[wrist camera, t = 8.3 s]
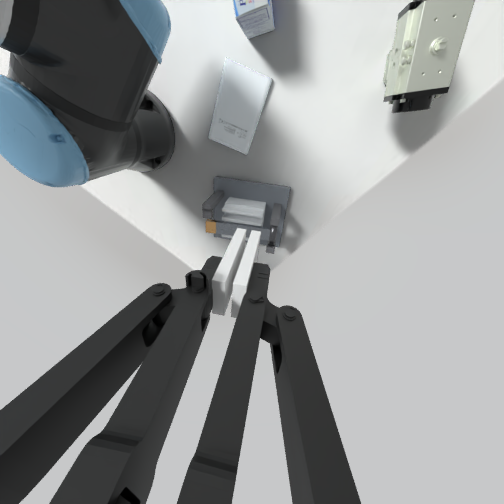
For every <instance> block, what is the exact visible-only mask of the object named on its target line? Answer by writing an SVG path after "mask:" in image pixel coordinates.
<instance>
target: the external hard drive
mask: <svg viewBox="0 0 504 504" xmlns="http://www.w3.org/2000/svg"><path fill="white" fill-rule="evenodd" d="M271 82H272V78H270V77H268V76H266V75H263V74H261V73H259V72H257V71H255V70H253V69H250V68H248V67H246V66H244V65H242V64H240V63H238V62H236V61H233V60H231V59H229V58H227V57H226V59H225V63H224V68H223V72H222V77H221V82H220V86H219V91H218V95H217V100H216V104H215V109H214V113H213V118H212V122H211V127H210V132H209V136H208V138H209V139H211V140H213V141H215V142H218V143H220V144H222V145H225V146H227V147H229V148H232V149H234V150H236V151H239V152H241V153H243V154H246V155H247V154H248V152H249V149H250V146H251V143H252V140H253V137H254V134H255V131H256V128H257V125H258V122H259V119H260V116H261V113H262V110H263V107H264V104H265V101H266V97H267V94H268V91H269V88H270V85H271Z"/></svg>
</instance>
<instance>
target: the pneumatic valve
mask: <svg viewBox="0 0 504 504" xmlns="http://www.w3.org/2000/svg"><path fill="white" fill-rule="evenodd" d="M474 2H475V0H413V2H411V3H409V4H408V5H407V6H406V7H405V8H404V9H403V10H402V11H401V12H400V13H399V15H398V20H397V26H396V32H395V38H394V44H393V49H392V50H391V51H390V52H389V54H388V55H387V61H386V67H385V73H384V79H383V81H385V82H384V84H385V85H386V90H385V96H384V102H387V101H389V104H393V107H392V113H399V112H408V111H417V110H425V109H430V108H431V104H432V101H433V97H434V95H435V97H434V98H439V97H440V96H441V94H444V93H448V89H449V86H450V83H451V79H452V76H453V73H454V69H455V66H456V62H457V59H458V56H459V52H460V49H461V46H462V42H463V39H464V35H465V32H466V29H467V25H468V22H469V18H470V15H471V12H472V8H473V5H474Z"/></svg>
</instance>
